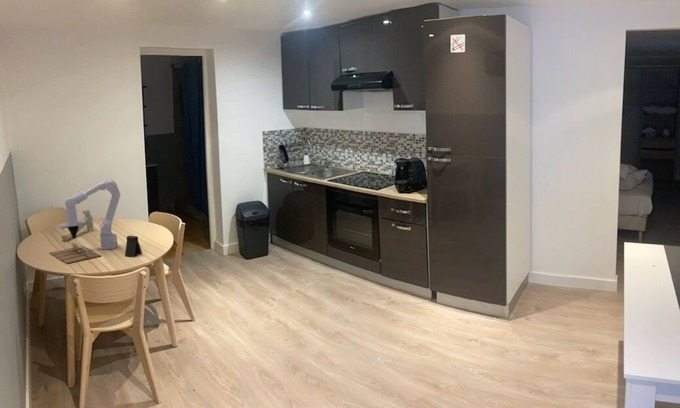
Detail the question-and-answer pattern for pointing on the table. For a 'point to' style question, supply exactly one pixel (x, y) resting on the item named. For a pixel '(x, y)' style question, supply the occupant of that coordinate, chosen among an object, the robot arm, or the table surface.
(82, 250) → the strip
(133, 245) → the phone stand
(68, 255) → the walnut board
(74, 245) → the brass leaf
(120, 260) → the table surface
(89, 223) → the hammer
